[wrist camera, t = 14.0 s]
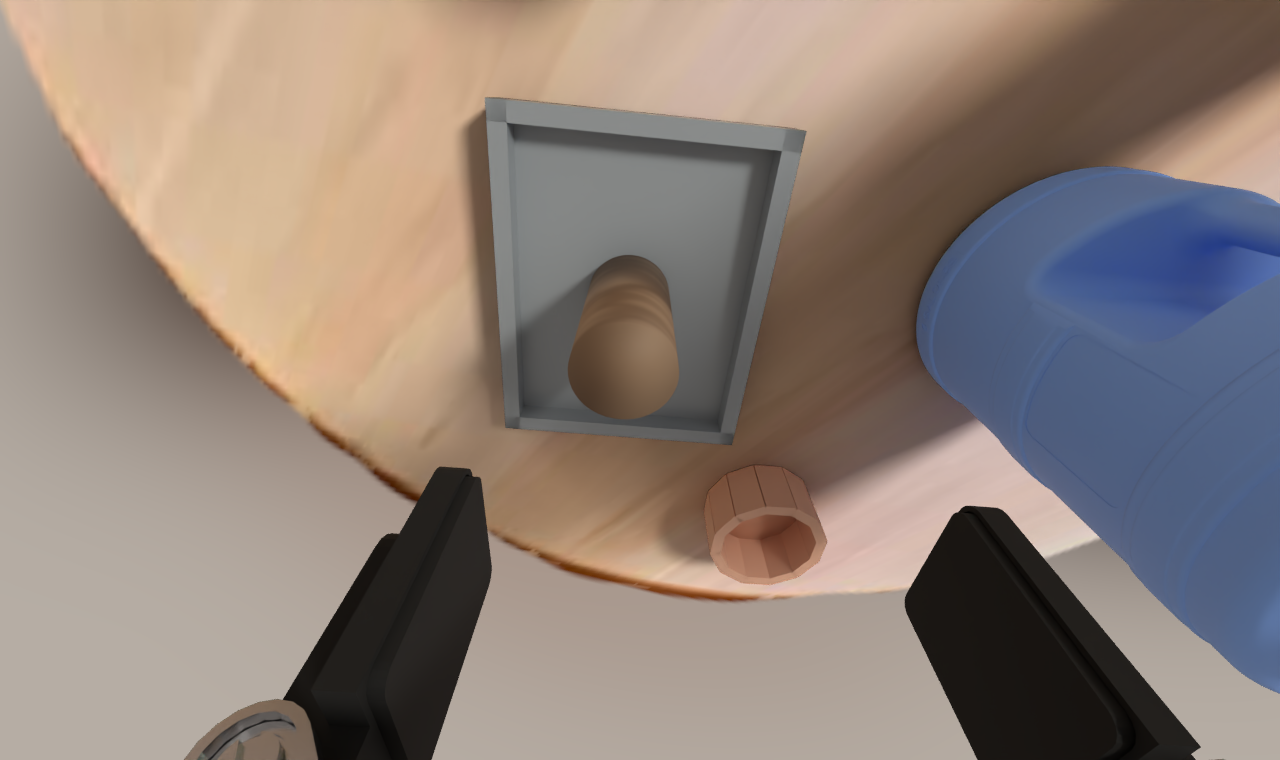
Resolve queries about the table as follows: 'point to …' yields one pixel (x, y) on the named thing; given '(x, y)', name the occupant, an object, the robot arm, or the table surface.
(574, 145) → the slate tray
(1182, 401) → the water jug
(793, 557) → the terracotta cup
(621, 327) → the walnut cylinder
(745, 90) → the table surface
